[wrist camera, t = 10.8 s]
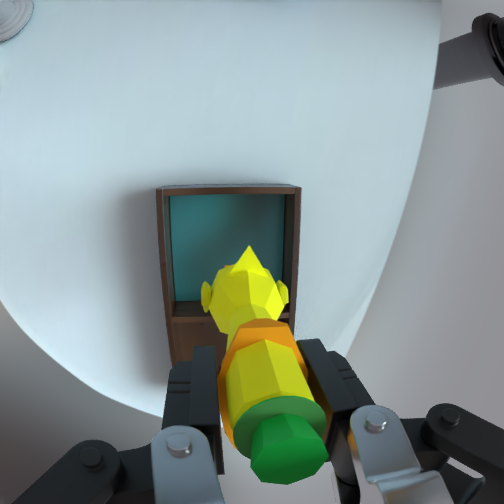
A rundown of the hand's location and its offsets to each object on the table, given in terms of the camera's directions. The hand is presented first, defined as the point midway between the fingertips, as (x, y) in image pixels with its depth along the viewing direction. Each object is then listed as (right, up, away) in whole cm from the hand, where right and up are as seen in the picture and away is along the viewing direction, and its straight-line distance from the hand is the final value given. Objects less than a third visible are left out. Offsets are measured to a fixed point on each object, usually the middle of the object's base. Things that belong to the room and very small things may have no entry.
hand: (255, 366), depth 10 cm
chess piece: (-24, +27, +6) cm, 36 cm away
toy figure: (-1, +2, +7) cm, 7 cm away
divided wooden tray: (-2, 0, +17) cm, 17 cm away
